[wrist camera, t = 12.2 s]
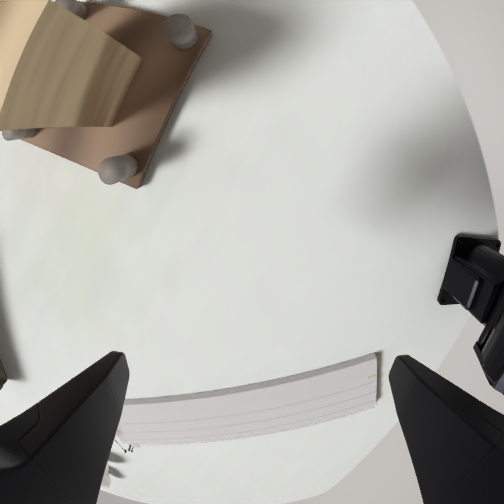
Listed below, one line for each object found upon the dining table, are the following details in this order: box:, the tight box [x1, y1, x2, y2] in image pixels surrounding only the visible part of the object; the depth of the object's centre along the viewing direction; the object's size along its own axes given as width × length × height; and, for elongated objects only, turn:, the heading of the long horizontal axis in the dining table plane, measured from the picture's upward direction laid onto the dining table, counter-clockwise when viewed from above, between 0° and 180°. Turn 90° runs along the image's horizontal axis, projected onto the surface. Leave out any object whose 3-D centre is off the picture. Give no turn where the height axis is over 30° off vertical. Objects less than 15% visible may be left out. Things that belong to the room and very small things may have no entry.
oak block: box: [0, 0, 143, 131], centre depth 11 cm, size 5×5×11 cm
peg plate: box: [2, 0, 212, 189], centre depth 15 cm, size 12×12×4 cm
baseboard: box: [114, 353, 377, 453], centre depth 27 cm, size 30×3×10 cm
